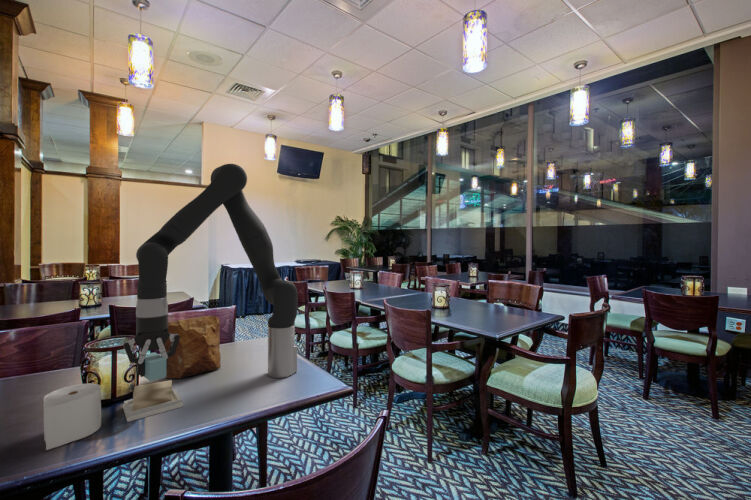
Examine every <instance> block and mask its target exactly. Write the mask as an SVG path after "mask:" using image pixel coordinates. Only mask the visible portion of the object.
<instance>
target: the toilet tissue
mask: <svg viewBox="0 0 751 500" xmlns="http://www.w3.org/2000/svg"><path fill="white" fill-rule="evenodd" d="M101 388H102V386H101V385H100V384H98V383H89V382H88V383H80V384H75V385H74V384H73V385H68V386H66V387H61V388H59V389H56V390H53V391H52V392H49V393H48V394H45V395H44V397H43V399H42V401H43V403H42V404H43V410H42V411H43V431H44V432H43V440H44V443H45V446H46V447H45V450H46V451H48V450H51V449H54V448H58V447H61V446H63V445H66V444H69V443H71V442H72V443H73V442H76V441H78V440H81V439H84V438H86V437H89V436H90V435H92V434H94V433H95V432H97V431H98V430H100V428H101V427H102V403H101V402H102V401H101V400H102V397H101V394H102V389H101Z"/></svg>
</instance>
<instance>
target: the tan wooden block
mask: <svg viewBox="0 0 751 500" xmlns="http://www.w3.org/2000/svg"><path fill="white" fill-rule="evenodd" d="M172 389H173V379H170V380H165V381H159V382H153V383H147V384H141V385H135V386H134V389H133V393H132V399H133V411H135V410H138V409H142V408H146V407H150V406H154V405H158V404H161V403H165V402H169V401H172Z"/></svg>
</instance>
